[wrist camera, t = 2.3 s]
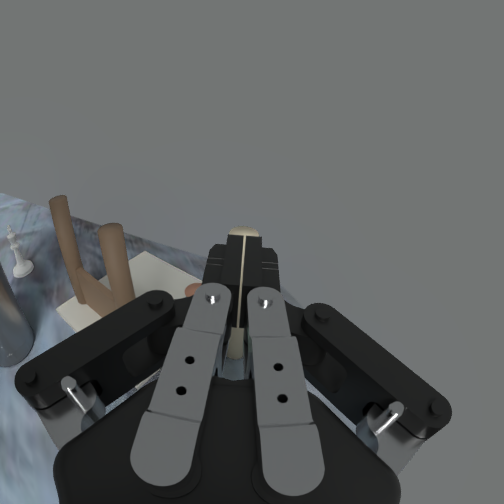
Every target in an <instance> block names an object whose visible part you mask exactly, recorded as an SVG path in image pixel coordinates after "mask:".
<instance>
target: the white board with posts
mask: <svg viewBox="0 0 504 504" xmlns="http://www.w3.org/2000/svg"><path fill="white" fill-rule="evenodd" d="M49 205H50V210H51V214H52V219H53V223H54V227H55V231H56V235H57V238H58V242H59V246H60V249H61V252H62V256H63V259H64V262H65V266H66V269H67V272H68V275H69V278H70V281H71V284H72V287H73V289H74V292H75V296H74V297H73V298H71V299H70V300H68V301H67V302H65V303H64V304H62V305H61V306H59V307H58V308H56V311H57V312H58V314H59V315H60V316H61V317H62V318H63V319H64V320H65V321H66V322H67V323H68V325H69V326H70V327H71V328H72V329H73V330H74V331H75V332H76V333H77V332H79V331H80V330H82V329H84V328H86V327H87V326H89V325H91V324H92V323H94V322H96V321H97V320H99V319H101V318H103V317H104V316H106V315H108V314H109V313H111V312H113V311H115V310H116V309H118V308H120V307H121V306H123V305H125V304H127V303H128V302H130V301H132V300H134V299H135V298H137V297H139V296H141V295H142V294H144V293H146V292H148V291H152V290H163V291H166V292H168V293H169V294H171V295H172V297H173V299H181V298H186V297H190V296H192V295H194V293H195V291H196V289H197V288H198V287H199V286H201V284H202V280H200V279H198V278H196V277H194V276H192V275H190V274H188V273H186V272H184V271H182V270H180V269H178V268H176V267H174V266H172V265H171V264H169V263H167V262H165V261H163V260H161V259H159V258H157V257H155V256H154V255H152V254H150V253H148V252H146V251H144V252H142V253H141V254H139V255H137V256H136V257H134V258H133V259H131V260H129V261H128V257H127V251H126V245H125V239H124V233H123V227H122V225H121V224H119V223H109V224H105V225H103V226H101V227H100V228H99V229H98V237H99V242H100V246H101V251H102V255H103V260H104V264H105V268H106V272H107V275H106V276H104V277H103V278H101V279H100V280H96V279H95V278H94V277H93V276H91V275H90V274H89V273H88V272H86V271H85V270H84V268H83V265H82V261H81V258H80V254H79V250H78V246H77V242H76V238H75V234H74V230H73V226H72V221H71V216H70V212H69V207H68V202H67V197H66V196H65V195H60V196H56V197H54V198H52V199H50V200H49ZM160 369H161V368H160ZM160 369H159V370H160ZM159 370H158V371H159ZM158 371H156V372H155V373H153V374H152V375H151V376H149V377H148V378H146V379H145V380H144V381H142V382H141V383H139V384H138V385H136V386H135V388H136V389H140V388H141V387H142V386H143V385H144V384H145V383H146V382H147V381H148V380H149V379H150V378H151V377H152V376H153V375H155V374H156V373H157V372H158Z"/></svg>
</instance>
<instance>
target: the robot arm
mask: <svg viewBox="0 0 504 504" xmlns="http://www.w3.org/2000/svg"><path fill="white" fill-rule="evenodd" d="M243 240H244V235H232V234H228V238H227V244H226V245H223V244H215V245H214V246H213V247H212V248H211V249H210V251H209V256H208V259H207V264H206V268H205V272H204V276H203V280H202V284H201V286H199V287H198V288H197V289H196V291H195V293H194V295H192V296H190V297H186V298H181V299H173V297H172V295H171V294H169V293H168V292H166V291H163V290H152V291H148V292H146V293H144V294H142V295H141V296H139V297H137V298H135V299H134V300H132V301H130V302H128V303H127V304H125V305H123V306H121V307H120V308H118V309H116V310H115V311H113V312H111V313H109V314H108V315H106V316H104V317H103V318H101V319H99V320H97V321H96V322H94V323H92V324H91V325H89V326H87V327H86V328H84V329H82V330H80V331H79V332H77V333H75V334H74V335H72V336H70V337H69V338H67V339H65V340H64V341H62V342H60V343H59V344H57V345H55V346H54V347H52V348H50V349H49V350H47V351H45V352H44V353H42V354H40V355H39V356H37V357H35V358H34V359H32V360H30V361H29V362H27V363H25V364H24V365H22V366H21V367H20V368H19V370H18V371H17V373H16V375H15V387H16V389H17V391H18V392H19V393H20V394H21V395H22V396H23V397H24V398H25V400H26V401H27V402H28V404H29V405H30V406H31V407H32V408H33V409H34V410H35V411H36V412H37V413H38V415H39V417H40V419H41V421H42V423H43V425H44V426H45V428H46V430H47V432H48V433H49V435H50V437H51V439H52V440H53V442H54V444H55V445H56V447H57V448H58V450H59V452H58V454H57V456H56V458H55V461H54V465H53V477H54V481H55V485H56V489H57V493H58V497H59V504H399V502H400V498H401V488H400V483H399V480H398V478H397V476H398V474H399V473H400V472H401V471H402V470H403V469H404V467H405V466H406V465H407V464H408V462H409V461H410V460H411V459H412V457H413V456H414V455H415V453H416V452H417V451H418V449H419V448H420V447H421V445H422V444H423V443H424V442H425V441H426V440H428V439H429V438H430V437H432V436H433V435H434V434H435V433H437V432H438V431H439V430H441V429H442V428H443V427H444V426H446V424H448V423H449V421H450V419H451V416H452V409H451V406H450V404H449V402H448V401H447V399H446V398H445V397H444V396H442V395H441V394H440V393H439V392H437V391H436V390H435V389H434V388H433V387H431V386H430V385H429V384H428V383H426V382H425V381H424V380H423V379H421V378H420V377H419V376H418V375H416V374H415V373H414V372H413V371H412V370H410V369H409V368H408V367H407V366H405V365H404V364H403V363H402V362H400V361H399V360H398V359H397V358H395V357H394V356H393V355H392V354H390V353H389V352H388V351H387V350H385V349H384V348H383V347H382V346H381V345H379V344H378V343H377V342H375V341H374V340H373V339H372V338H371V337H369V336H368V335H367V334H366V333H364V332H363V331H362V330H360V329H359V328H358V327H357V326H356V325H354V324H353V323H352V322H350V321H349V320H348V319H347V318H346V317H344V316H343V315H342V314H340V313H339V312H338V311H337V310H335V309H334V308H332V307H331V306H329V305H326V304H323V303H314V304H311V305H309V306H307V307H306V309H302V308H298V307H295V306H293V305H291V304H289V303H287V302H286V301H285V300H284V298H283V296H282V294H281V293H280V281H279V270H278V258H277V254H276V253H275V252H274V250H273V249H272V248H262V237H258V236H246V241H245V253H244V265H243V278H242V292H241V306H240V321H239V328H244V336H243V364H244V380H237V381H231V380H228V379H224V378H223V372H224V367H225V362H226V356H227V351H228V346H229V339H230V337H231V330H232V327H233V328H237V316H238V303H239V291H240V278H241V266H242V253H243ZM33 341H34V334H33V330H32V329H31V327H30V325H29V323H28V321H27V319H26V317H25V315H24V313H23V311H22V309H21V307H20V305H19V303H18V301H17V299H16V297H15V295H14V293H13V291H12V288H11V286H10V284H9V282H8V279H7V277H6V275H5V272H4V270H3V268H2V265H1V263H0V366H1V367H10V366H13V365H15V364H17V363H19V362H20V361H22V360H23V359H24V358H25V357H26V356H27V354H28V353H29V351H30V350H31V347H32V345H33ZM160 368H162V370H161V373H160V376H159V379H158V380H155V381H153V382H150V383H149V384H147V385H145V386H144V387H142V388H141V389H140V390H138V391H137V392H136V393H134V394H133V395H132V396H130V397H129V398H128V399H126V400H125V401H124V402H122V403H121V404H120V405H118V406H117V407H116V408H114V409H113V410H112V411H110V412H109V413H108V414H106V415H105V412H106V408H105V407H106V406H108V405H109V404H111V403H112V402H113V401H115V400H116V399H118V398H119V397H121V396H122V395H124V394H125V393H126V392H128V391H129V390H131V389H132V388H134V387H135V386H136V385H138V384H139V383H141V382H142V381H144V380H145V379H146V378H148V377H149V376H151V375H152V374H153V373H155V372H156V371H158V370H159V369H160ZM305 378H306V379H307V380H308V381H309V382H310V383H311V384H312V385H313V386H314V387H315V388H316V389H317V390H318V391H319V392H320V393H321V394H322V395H323V396H325V397H326V398H327V399H328V400H329V401H330V402H331V403H332V404H333V405H334V406H335V407H336V408H337V409H338V410H339V411H341V412H342V413H343V414H344V415H345V416H346V417H347V418H348V419H349V420H350V421H351V422H353V423H354V424H355V425H356V435H355V434H354V433H353V432H352V431H351V430H350V429H349V428H348V427H347V426H346V425H345V424H344V423H343V422H342V421H341V420H340V419H339V418H338V417H337V416H336V415H335V414H334V413H333V412H332V411H331V410H330V409H329V408H328V407H327V406H326V405H325V404H324V403H323V402H322V401H321V400H320V399H319V398H318V397H316V396H315V395H314V394H312V393H310V392H309V391H307V388H306V382H305Z"/></svg>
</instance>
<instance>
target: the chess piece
mask: <svg viewBox="0 0 504 504" xmlns="http://www.w3.org/2000/svg"><path fill="white" fill-rule="evenodd" d="M7 227H8V228H7V229H8V231H9V233H10V234H8V236H7V238H8V240H9V241H10V243H11V244H12V245H11V250H14V252H15V256H16V261H17V264H16V266H15V267H14V269H13V273H14V276H15V277H17V278H21V277H25V276H27V275H28V274H30V273H31V272H32V270H33V268H34V265H33V263H32V262H31V261H30V260H24V259H23V258H22V256H21V254H20V252H19V249H18V247H19V245H20V244H19V243H18V242H16V233H15V232H12V229H11V228H10V225H8V226H7Z"/></svg>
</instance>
